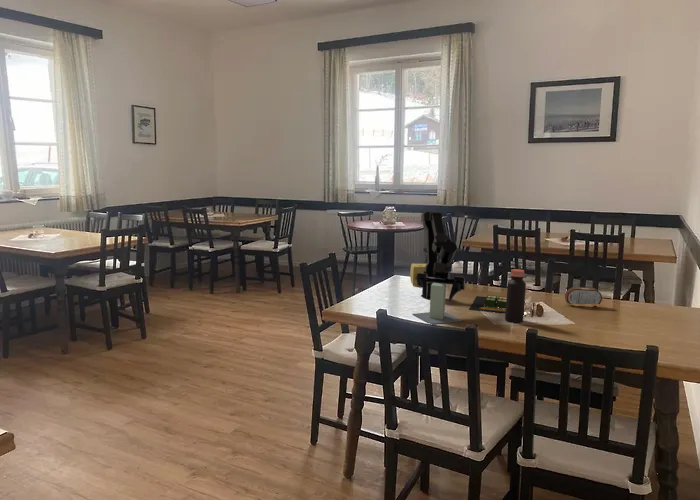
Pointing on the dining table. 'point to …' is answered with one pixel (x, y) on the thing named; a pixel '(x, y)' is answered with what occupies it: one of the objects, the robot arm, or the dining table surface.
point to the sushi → (489, 303)
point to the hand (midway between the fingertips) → (437, 299)
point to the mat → (446, 319)
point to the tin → (583, 296)
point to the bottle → (515, 297)
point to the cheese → (416, 272)
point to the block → (437, 300)
